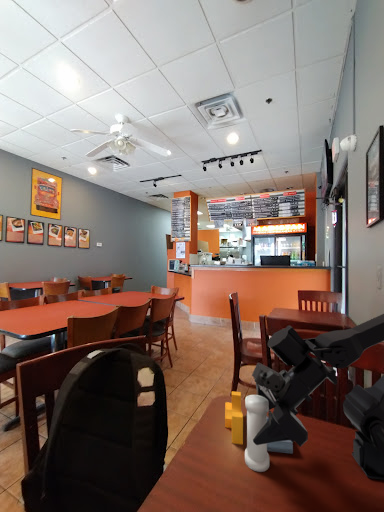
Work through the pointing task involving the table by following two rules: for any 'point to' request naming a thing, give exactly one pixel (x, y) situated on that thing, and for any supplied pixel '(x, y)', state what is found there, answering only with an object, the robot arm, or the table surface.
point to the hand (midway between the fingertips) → (250, 429)
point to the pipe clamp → (234, 418)
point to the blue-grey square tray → (280, 446)
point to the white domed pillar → (255, 421)
